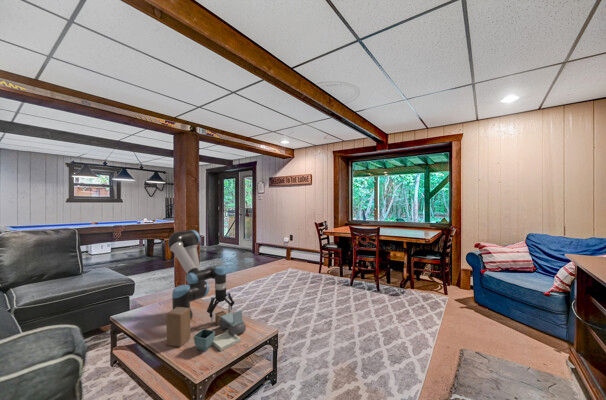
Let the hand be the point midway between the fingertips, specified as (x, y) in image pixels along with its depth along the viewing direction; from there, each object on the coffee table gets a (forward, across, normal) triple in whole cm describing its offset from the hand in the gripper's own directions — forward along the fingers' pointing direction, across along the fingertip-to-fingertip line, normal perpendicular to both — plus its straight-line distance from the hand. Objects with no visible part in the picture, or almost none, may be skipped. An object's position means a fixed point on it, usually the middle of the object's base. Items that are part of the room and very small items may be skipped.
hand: (221, 318), depth 182 cm
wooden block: (+4, -30, -2) cm, 30 cm away
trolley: (+4, 0, -14) cm, 15 cm away
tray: (+4, -10, -23) cm, 26 cm away
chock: (+4, 0, +1) cm, 4 cm away
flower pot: (+4, -22, -20) cm, 30 cm away
